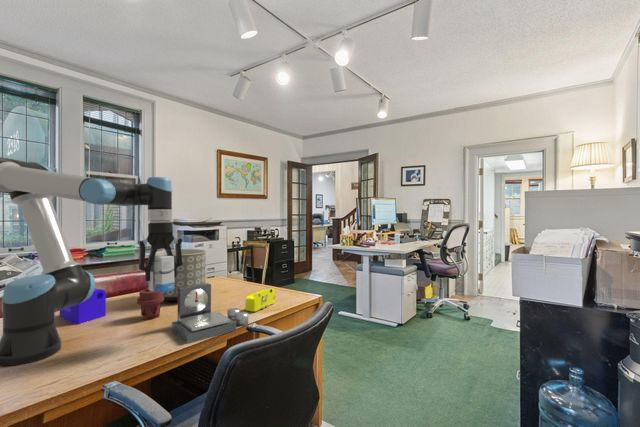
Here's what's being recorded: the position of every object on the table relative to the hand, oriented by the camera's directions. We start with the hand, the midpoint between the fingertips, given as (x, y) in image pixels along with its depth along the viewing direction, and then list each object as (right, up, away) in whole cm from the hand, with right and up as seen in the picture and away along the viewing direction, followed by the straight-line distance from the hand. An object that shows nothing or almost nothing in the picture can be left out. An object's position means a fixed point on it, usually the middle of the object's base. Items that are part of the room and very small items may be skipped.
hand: (161, 288), depth 108 cm
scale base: (+10, -18, +10) cm, 23 cm away
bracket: (-47, -18, +22) cm, 55 cm away
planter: (-18, -18, +53) cm, 58 cm away
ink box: (0, -1, 0) cm, 1 cm away
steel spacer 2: (+24, -18, +16) cm, 34 cm away
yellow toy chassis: (+27, -18, +38) cm, 50 cm away
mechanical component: (-16, -18, +23) cm, 33 cm away
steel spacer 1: (+19, -18, +21) cm, 34 cm away
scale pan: (+12, -14, +8) cm, 20 cm away
